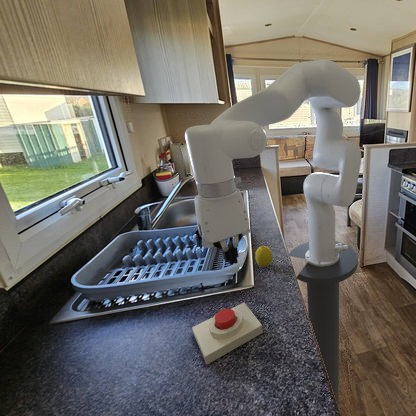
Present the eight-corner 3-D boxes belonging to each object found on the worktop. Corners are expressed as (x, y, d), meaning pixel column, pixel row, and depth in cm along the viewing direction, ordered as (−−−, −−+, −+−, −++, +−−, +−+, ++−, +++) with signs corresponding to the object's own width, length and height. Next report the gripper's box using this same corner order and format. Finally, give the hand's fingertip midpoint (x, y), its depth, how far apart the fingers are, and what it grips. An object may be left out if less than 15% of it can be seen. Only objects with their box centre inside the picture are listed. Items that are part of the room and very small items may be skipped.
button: (231, 312, 64) (230, 305, 63) (238, 323, 60) (237, 316, 60) (213, 321, 61) (211, 314, 60) (219, 333, 58) (218, 326, 57)
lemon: (268, 273, 84) (265, 251, 81) (253, 269, 86) (250, 248, 83) (276, 263, 89) (274, 243, 86) (262, 261, 91) (260, 240, 88)
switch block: (245, 309, 69) (243, 297, 68) (262, 332, 62) (261, 319, 61) (193, 335, 62) (190, 322, 60) (206, 365, 55) (203, 351, 53)
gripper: (243, 176, 61) (254, 244, 68) (173, 191, 53) (194, 267, 60) (258, 183, 56) (268, 256, 63) (183, 201, 47) (204, 283, 54)
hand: (232, 261), depth 61 cm, fingers closed
